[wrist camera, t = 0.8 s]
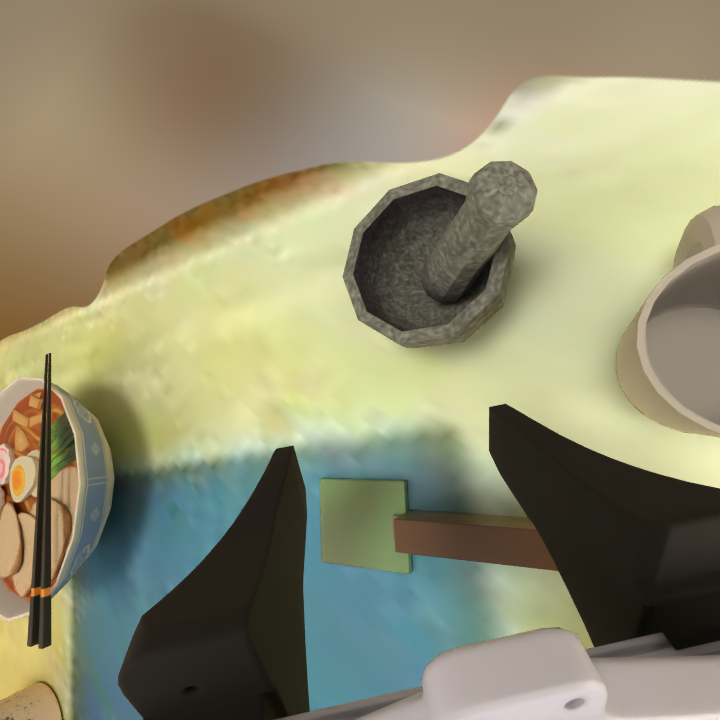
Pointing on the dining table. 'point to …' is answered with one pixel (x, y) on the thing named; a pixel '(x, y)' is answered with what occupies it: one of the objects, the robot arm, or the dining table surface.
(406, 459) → the dining table surface
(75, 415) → the ramen bowl
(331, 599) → the dining table surface
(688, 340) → the cup
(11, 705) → the teacup with lid
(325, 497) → the spatula
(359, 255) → the mortar and pestle
